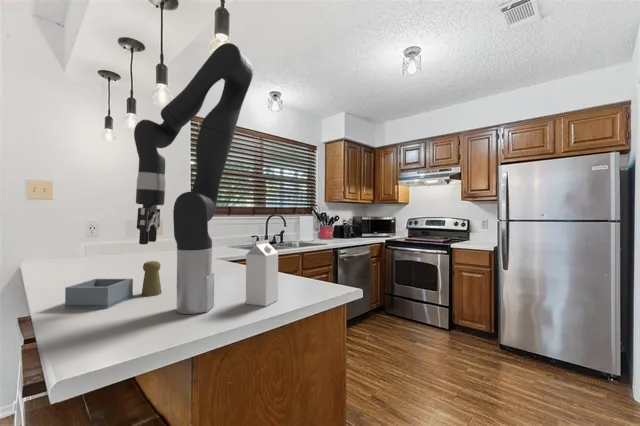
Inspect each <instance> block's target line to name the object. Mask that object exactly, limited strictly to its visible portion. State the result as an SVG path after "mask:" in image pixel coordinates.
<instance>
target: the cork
mask: <svg viewBox="0 0 640 426" xmlns="http://www.w3.org/2000/svg"><path fill="white" fill-rule="evenodd" d="M160 269H161V263H160V262H159V261H157V260H156V261H155V260H151V261H149V260H148V261H146V262H144V263H143V264H142V270H143V272H144V276H143V283H142V289H141V295H140V296H141V297H155V295H156V296H159V294H160V295H162V285H161V278H160V277H161V276H160Z"/></svg>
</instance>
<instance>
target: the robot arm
mask: <svg viewBox="0 0 640 426" xmlns="http://www.w3.org/2000/svg"><path fill="white" fill-rule="evenodd" d="M253 76H254V68H253V65H252V63H251V60H250V59H249V58H248V57H247V56H246V55H245V54H244V53H243V51H242V50H241V49H240V48H239V47H238V46H237V45H236V44H233V43H232V42H231V43H230V42H226V43H223V44H221V45H219V46H218V47H216V49H215V50H214V51H213V52H212V53H211V54H210V55H209V57H208V58H207V60H206V61H205V62H204V64H203V65H202V66H201V67H200V69H199V70H198V71H197V72H196V73H195V75H194V76H193V78H192V79H191V80H190V81H189V83H188V84H187V85H186V86H185V87H184V88H183V90H181V92H179V94H177V95H176V96H175V97H174V98H173V99H172V100H171V101H169V102H168V104H166V105H165V106H164V107H163V108H162V109H161V111H160V117H161V119H162V120H163V122H162V123H158V122H155V121H153V120H150V119H141V120H140V121H138V122H137V124H136V125H135V127H134V130H133V137H134V144H135V147H136V152H137V155H138V156H137V157H138V171H137V172H138V173H137V179H136V190H135V203H136V204H137V205H142V207H138V208H137V218H136V229H137V230H138V231H139V240H138V244H139V245H148V244H149V243H154V242H155V243H156V241H157V237H158V236H157V235H158V229H159V228H160V225H161V224H160V220H161V208H158V206H164V205H165V198H166V197H165V196H166V176H165V175H166V158H165V157H164V156H163V155H161V154H160V153H159V151H158V149H164V148H167V147H169V146H170V145H171V144H172V143H173V142H175V140H176V138H177V136H178V135H179V133H180V132H181V130H182V128H183V127H184V126H186V125H187V124H188V123H189V122H190V121H191V120H192V119H194V118H195V117H196V116H197V115H198V113H199V112H201V111H200V110H201V109H202V107H203V105H204V102H205V100H206V97H207V96H208V95H207V94H208V93H209V91H210V90H211V88H212V87H213V86H214V85H215V84H217V83H218V82H219V81H221V80H223V81H224V85H223V89H222V93H221V95H220V98H219V101H218V103H217V104H216V105H215V106H214V107H213V108H212V109H211V110H210V111H209V112H208V113H207V114H206V116H204V118H203V119H202V122H201V124H200V128H199V132H198V135H197V139H196V144H195V162H196V172H195V173H196V174H195V178H194V182H193V185H192V188H191V191H186V192H182V193H181V194H180V195H179V196H177V198H176V199H175V201H174V205H173V210H172V213H173V215H172V216H173V219H172V221H173V235H174V240H175V242H176V313H179V314H180V315H181V314H183V315H184V314H186V315H195V314H201V313H208V312H209V311H210V310H211V309H213V307H215V273H213V265H212V264H213V239H212V237H210V234H209V225H208V224H209V221H211V220H212V218H213V217H214V215H215V212H216V208H217V204H218V203H217V202H218V197H219V188H220V185H221V182H222V181H221V180H222V178H223V174H224V170H225V168H226V164H227V160H228V156H229V153H230V151H231V147H232V144H233V139H234V136H235V130H236V127H237V124H238V121H239V117H240V113H241V111H242V107H243V104H244V101H245V98H246V96H247V93H248V91H249V88H250V86H251V83H252V80H253Z"/></svg>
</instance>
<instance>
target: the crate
mask: <svg viewBox="0 0 640 426" xmlns="http://www.w3.org/2000/svg"><path fill="white" fill-rule="evenodd" d="M133 280H134V279H133V278H93V279H90V280H86V281H83V282H80V283H76V284H74V285H69V286H65V288H64V290H65V292H64V293H65V295H64V296H65V297H64V298H65V299H64V300H65V301H64V303H65V304H64V308H65V309H67V310H68V309H69V310H70V309H71V310H72V309H78V310H79V309H95V310H96V309H97V310H98V309H103V310H104V309H106V310H107V308H108V309H109V308H112V307H115V306H116V304H117V305H119V304H120V303H121V304H122V303H123V302H125V301H127V300H129V299H132V298H133V295H134V294H133V291H134V290H133V289H134V281H133Z"/></svg>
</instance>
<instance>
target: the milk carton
mask: <svg viewBox="0 0 640 426" xmlns="http://www.w3.org/2000/svg"><path fill="white" fill-rule="evenodd" d="M245 262H246V263H245V304H247V305H254V306H263V307H267V306H269V305H271V304H273V303H275V302H277V301H278V300H279V253H278V251H277V250H276V249H275V247H273V246H272V245H271V244H270V240H269V239H264V240H263V239H262V240H258V241H255V245H254V246H253V247H251V249H250V250H249V251H248V252H247V253H246V254H245Z"/></svg>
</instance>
